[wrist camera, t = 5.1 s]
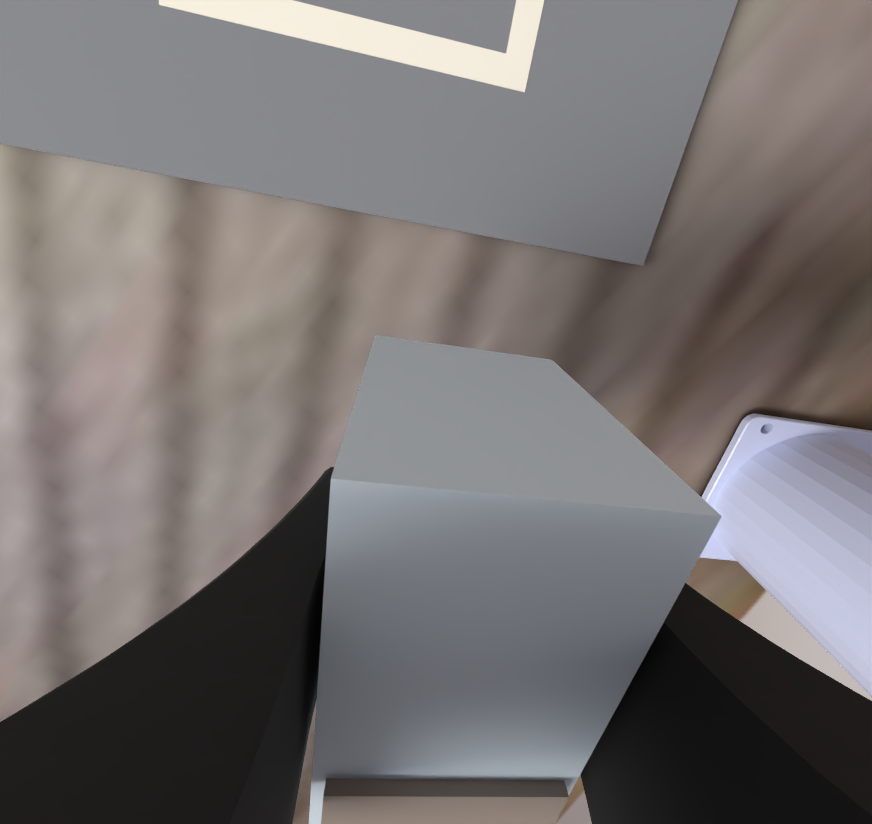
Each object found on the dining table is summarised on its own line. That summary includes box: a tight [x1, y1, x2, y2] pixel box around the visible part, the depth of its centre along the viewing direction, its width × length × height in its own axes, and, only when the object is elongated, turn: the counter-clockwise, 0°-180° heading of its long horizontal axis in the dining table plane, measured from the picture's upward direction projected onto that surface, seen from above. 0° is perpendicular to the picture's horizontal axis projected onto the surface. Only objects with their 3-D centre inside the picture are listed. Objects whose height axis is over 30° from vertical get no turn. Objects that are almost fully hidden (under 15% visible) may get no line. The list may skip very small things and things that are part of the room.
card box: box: [309, 335, 722, 824], centre depth 8 cm, size 4×7×6 cm, turn 171°
